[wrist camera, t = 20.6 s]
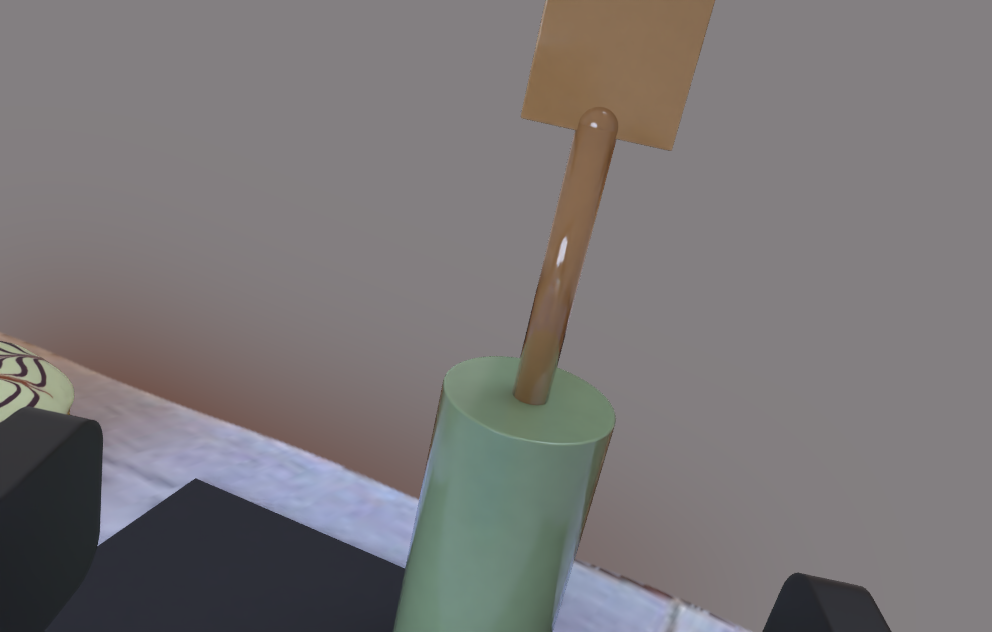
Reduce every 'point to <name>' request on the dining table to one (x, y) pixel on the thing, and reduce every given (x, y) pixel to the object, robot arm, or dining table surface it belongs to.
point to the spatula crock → (544, 342)
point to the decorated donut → (31, 383)
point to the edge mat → (229, 574)
